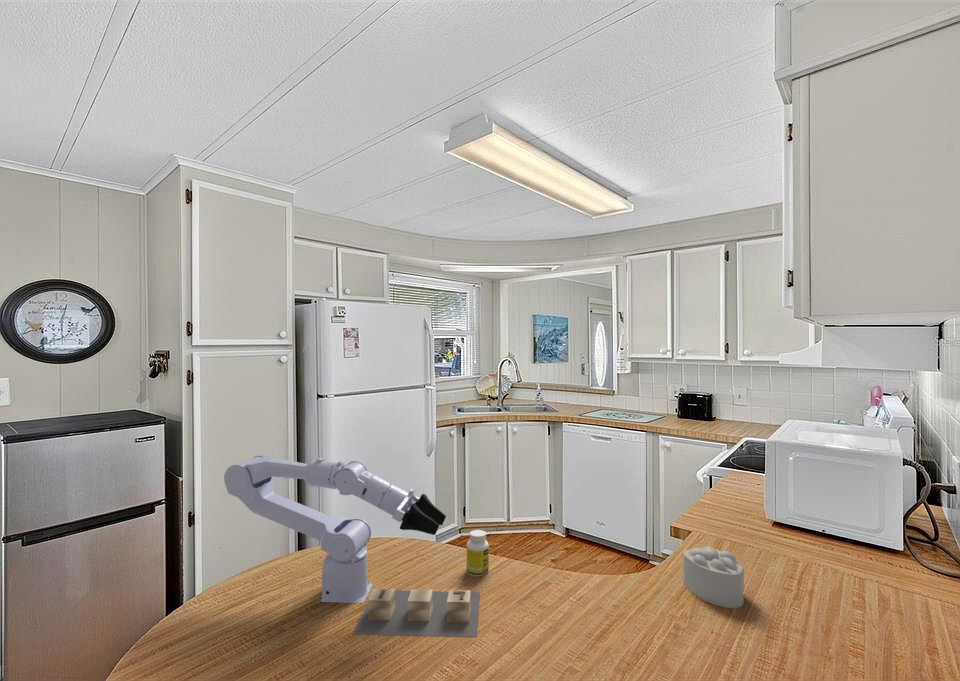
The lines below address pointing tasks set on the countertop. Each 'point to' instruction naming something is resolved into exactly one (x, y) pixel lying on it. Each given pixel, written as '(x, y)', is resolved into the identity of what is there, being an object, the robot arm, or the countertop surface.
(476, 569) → the supplement bottle
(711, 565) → the lumpy-topped squat cylinder
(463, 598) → the numbered block right
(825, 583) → the countertop surface
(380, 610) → the numbered block left
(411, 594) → the plain birch block
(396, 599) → the charcoal mat
